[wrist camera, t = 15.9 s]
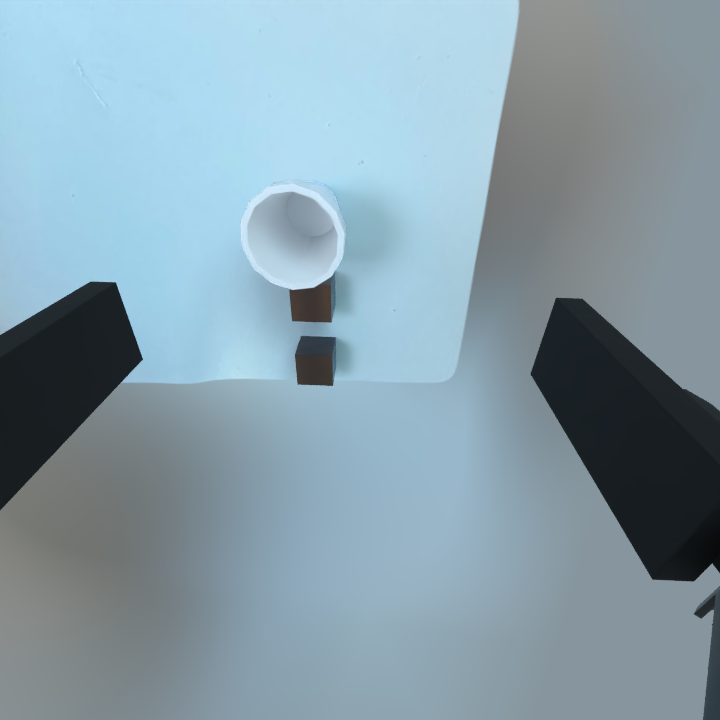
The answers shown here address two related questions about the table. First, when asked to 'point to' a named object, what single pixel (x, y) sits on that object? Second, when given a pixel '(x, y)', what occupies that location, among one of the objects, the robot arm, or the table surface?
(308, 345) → the walnut block far
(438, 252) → the table surface
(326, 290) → the walnut block near
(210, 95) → the table surface
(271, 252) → the foam cup
